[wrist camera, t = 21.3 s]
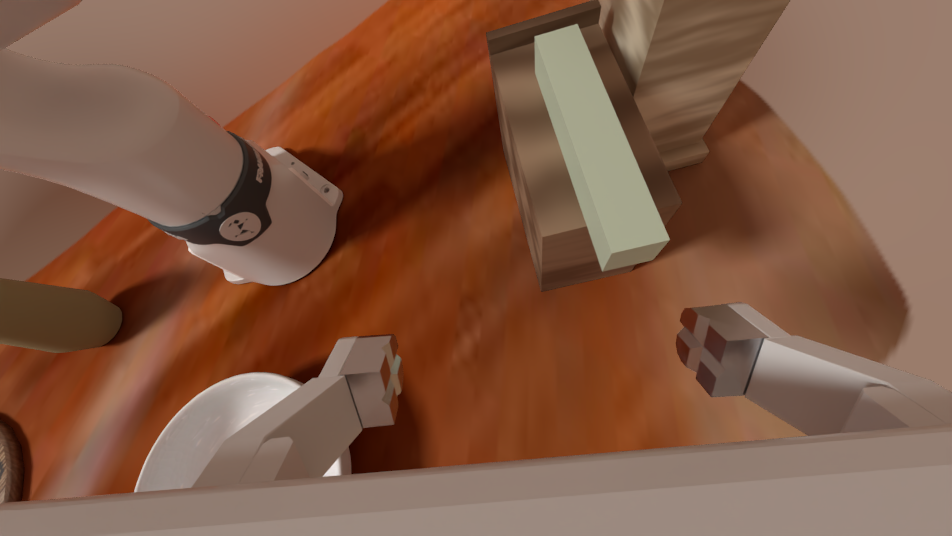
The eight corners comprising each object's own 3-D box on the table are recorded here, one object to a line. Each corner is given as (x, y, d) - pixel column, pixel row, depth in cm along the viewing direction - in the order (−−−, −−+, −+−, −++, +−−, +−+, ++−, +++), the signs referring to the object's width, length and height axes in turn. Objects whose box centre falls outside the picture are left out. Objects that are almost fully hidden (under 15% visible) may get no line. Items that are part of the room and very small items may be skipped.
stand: (701, 162, 41) (1003, -266, 14) (608, 185, 42) (728, -173, 16) (652, 66, 47) (802, -369, 20) (571, 89, 48) (611, -296, 21)
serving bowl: (379, 586, 33) (341, 633, 27) (182, 607, 35) (103, 655, 29) (370, 361, 40) (338, 355, 34) (208, 390, 43) (149, 390, 36)
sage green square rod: (652, 260, 24) (670, 239, 21) (602, 271, 24) (611, 253, 21) (573, 61, 31) (577, 23, 27) (535, 72, 31) (534, 36, 28)
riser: (630, 271, 39) (690, 191, 23) (541, 291, 40) (542, 228, 24) (578, 130, 46) (597, -2, 30) (503, 150, 47) (485, 32, 31)
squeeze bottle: (97, 367, 46) (-153, 353, 29) (69, 335, 49) (-177, 306, 32) (141, 315, 48) (-72, 274, 31) (111, 287, 50) (-101, 234, 34)
